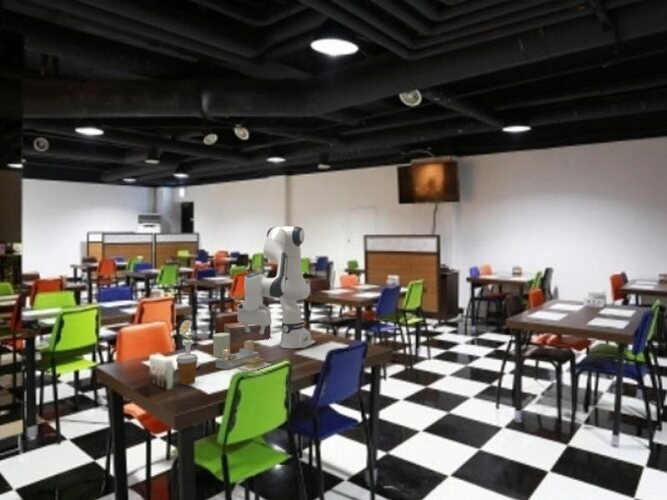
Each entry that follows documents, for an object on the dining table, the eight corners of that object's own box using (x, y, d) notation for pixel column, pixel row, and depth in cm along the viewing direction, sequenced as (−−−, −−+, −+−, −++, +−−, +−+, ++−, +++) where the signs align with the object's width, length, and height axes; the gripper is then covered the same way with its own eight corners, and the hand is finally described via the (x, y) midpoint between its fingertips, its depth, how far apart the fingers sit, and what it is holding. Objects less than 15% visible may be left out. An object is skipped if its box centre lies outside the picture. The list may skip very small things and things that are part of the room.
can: (225, 357, 251) (225, 335, 251) (210, 357, 253) (209, 335, 253) (233, 353, 260) (232, 332, 260) (217, 352, 262) (217, 331, 262)
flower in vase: (175, 367, 235) (174, 317, 234) (198, 364, 239) (197, 316, 238) (177, 374, 223) (176, 322, 222) (202, 371, 227) (200, 320, 227)
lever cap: (256, 363, 238) (256, 355, 237) (264, 364, 235) (264, 357, 235) (245, 367, 231) (245, 359, 231) (252, 368, 228) (252, 360, 228)
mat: (257, 362, 242) (257, 361, 242) (271, 365, 236) (271, 363, 236) (237, 368, 230) (237, 367, 230) (252, 372, 224) (252, 370, 224)
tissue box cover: (230, 344, 284) (229, 327, 283) (224, 339, 296) (224, 324, 296) (270, 339, 295) (270, 323, 295) (263, 335, 308) (263, 320, 308)
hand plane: (247, 357, 251) (246, 339, 251) (259, 359, 246) (259, 341, 246) (215, 367, 233) (215, 347, 233) (228, 370, 228) (227, 350, 228)
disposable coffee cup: (179, 379, 214) (178, 353, 214) (200, 378, 215) (199, 353, 215) (174, 386, 205) (173, 359, 204) (196, 385, 206) (195, 358, 205)
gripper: (273, 306, 229) (274, 333, 229) (243, 303, 240) (244, 329, 241) (264, 308, 223) (265, 336, 224) (234, 304, 235) (235, 332, 236)
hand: (254, 332), depth 233 cm, fingers open, 8 cm apart
